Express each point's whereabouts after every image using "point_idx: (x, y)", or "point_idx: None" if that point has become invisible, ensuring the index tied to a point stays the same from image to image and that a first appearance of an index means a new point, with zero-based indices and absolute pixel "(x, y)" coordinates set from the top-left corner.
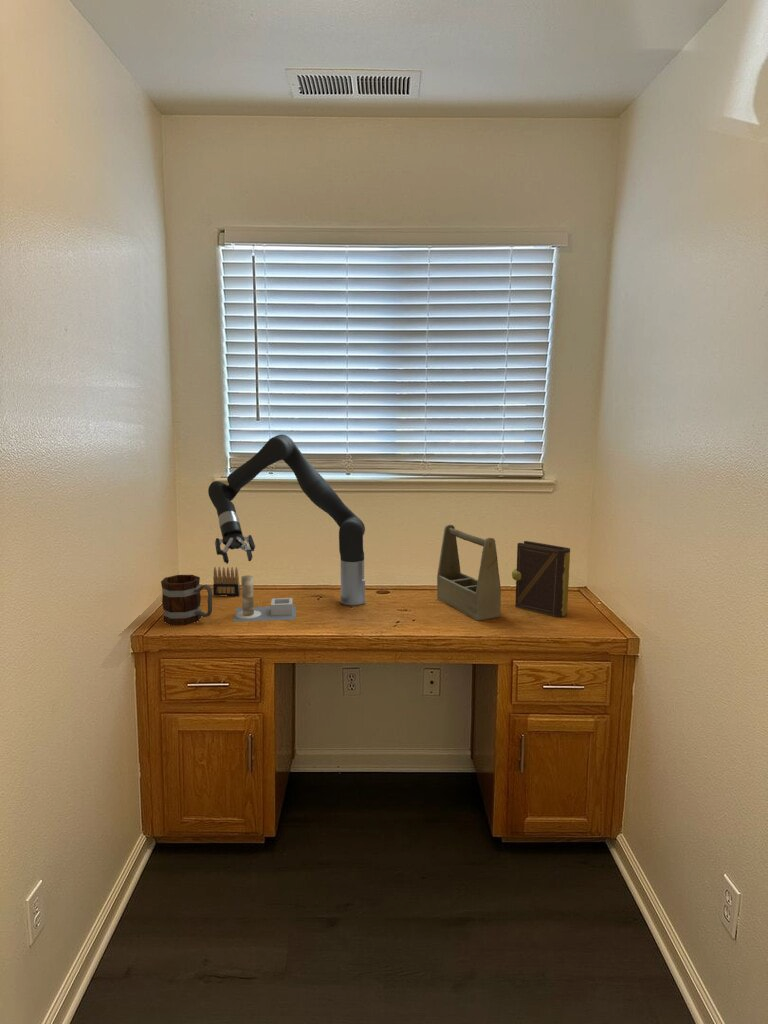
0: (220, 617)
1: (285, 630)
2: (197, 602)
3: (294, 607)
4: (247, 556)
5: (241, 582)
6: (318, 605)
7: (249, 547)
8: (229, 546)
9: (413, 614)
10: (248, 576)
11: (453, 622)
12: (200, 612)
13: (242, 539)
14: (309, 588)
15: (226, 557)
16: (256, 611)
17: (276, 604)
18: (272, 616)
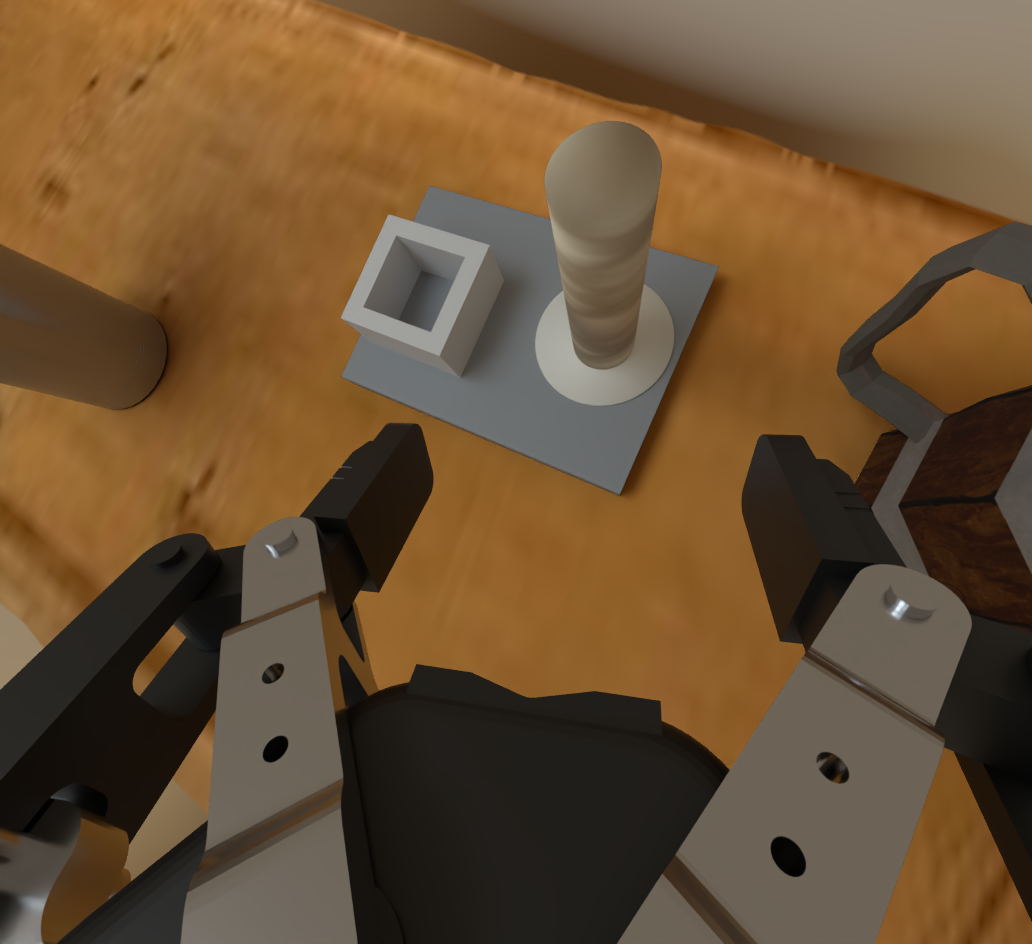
0: (736, 442)
1: (510, 134)
2: (977, 405)
3: (361, 348)
4: (402, 541)
5: (654, 215)
6: (251, 387)
7: (259, 559)
8: (725, 771)
9: (58, 136)
10: (581, 185)
11: (25, 27)
12: (909, 398)
13: (157, 909)
14: (156, 669)
15: (816, 471)
16: (548, 365)
17: (460, 240)
18: (504, 264)
